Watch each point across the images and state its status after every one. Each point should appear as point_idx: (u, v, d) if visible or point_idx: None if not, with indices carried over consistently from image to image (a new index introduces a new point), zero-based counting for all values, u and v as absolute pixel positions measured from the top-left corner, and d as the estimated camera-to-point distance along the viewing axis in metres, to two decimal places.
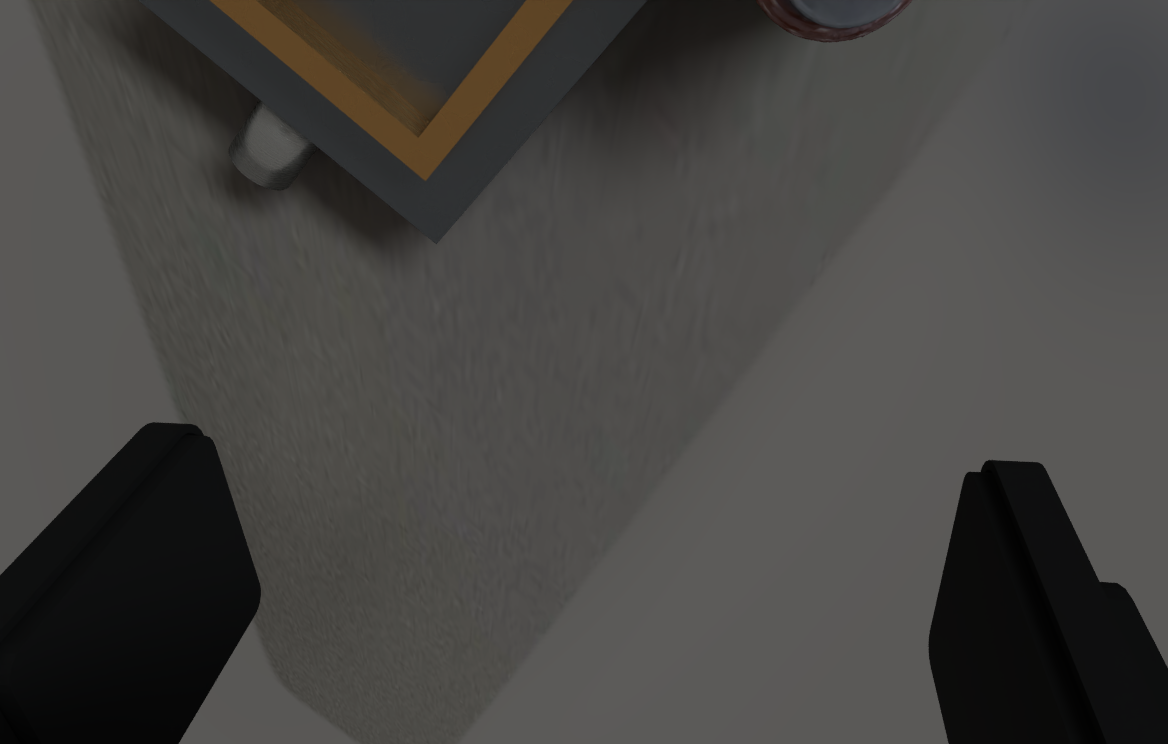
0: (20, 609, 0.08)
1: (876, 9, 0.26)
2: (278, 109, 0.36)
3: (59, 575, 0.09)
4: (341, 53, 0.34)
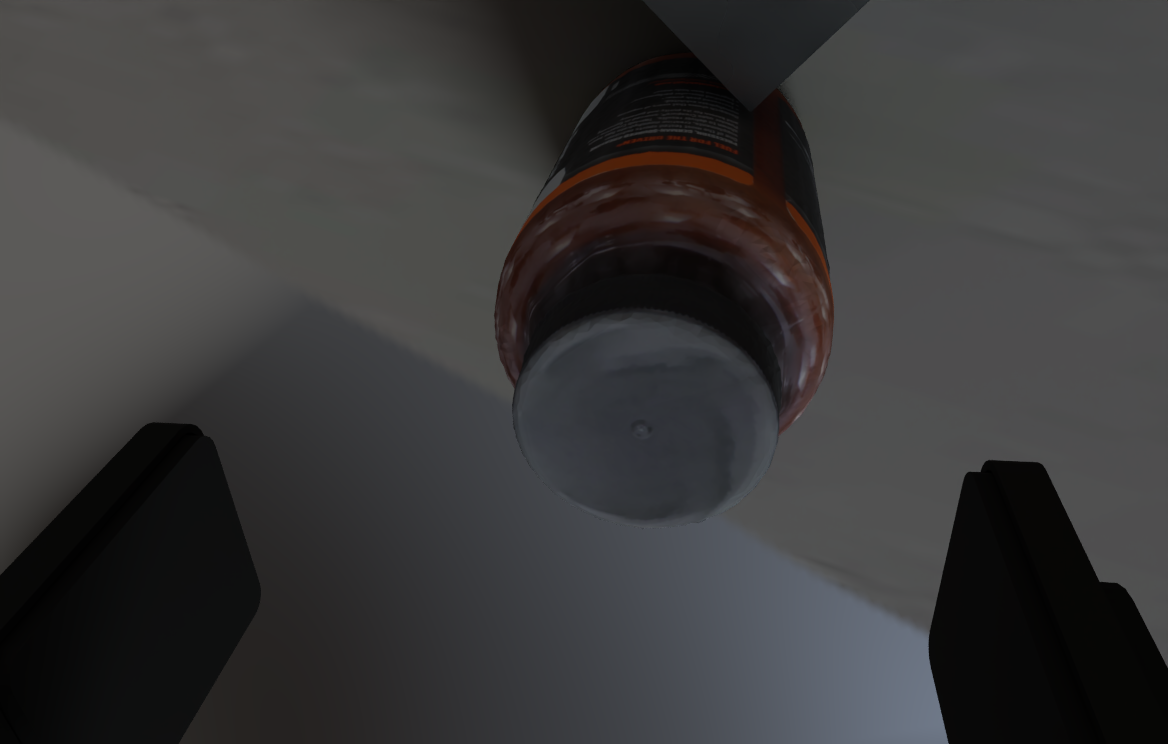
0: (19, 609, 0.08)
1: (548, 468, 0.14)
2: None
3: (59, 575, 0.09)
4: None
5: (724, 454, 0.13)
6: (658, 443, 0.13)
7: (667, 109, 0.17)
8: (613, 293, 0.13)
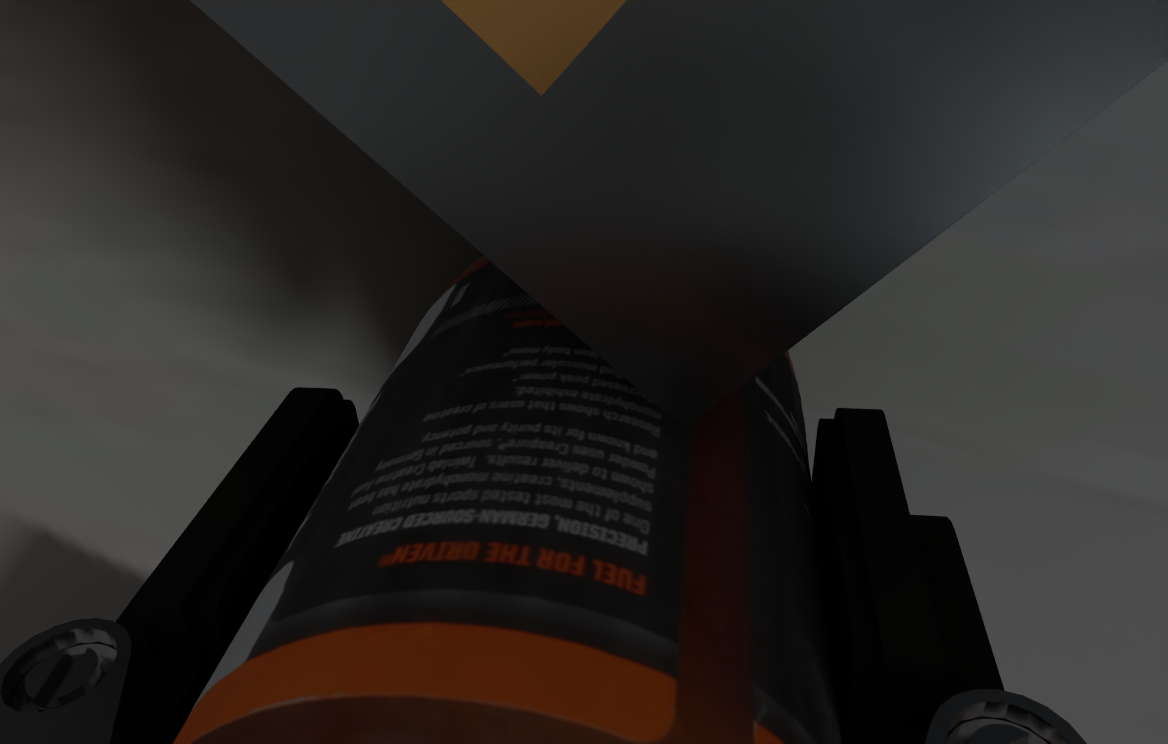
0: (217, 551, 0.09)
1: None
2: None
3: (244, 522, 0.09)
4: None
5: None
6: None
7: (512, 428, 0.08)
8: None
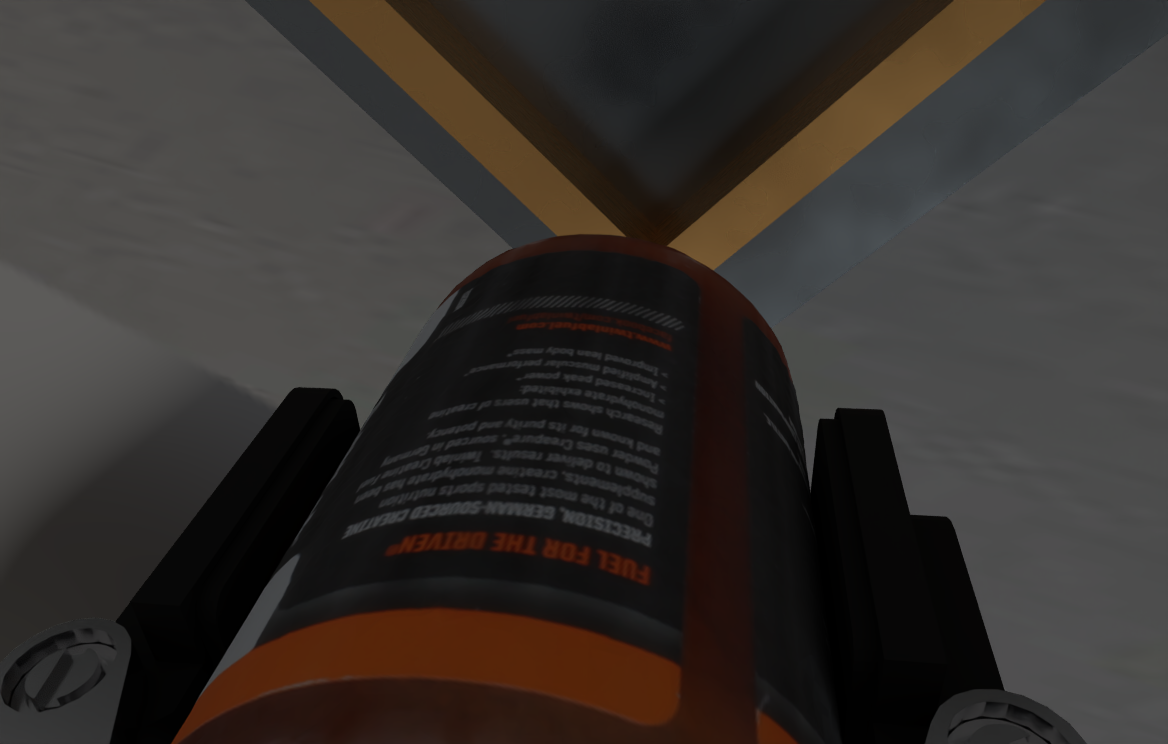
0: (217, 552, 0.09)
1: None
2: None
3: (244, 523, 0.09)
4: None
5: None
6: None
7: (517, 423, 0.08)
8: None
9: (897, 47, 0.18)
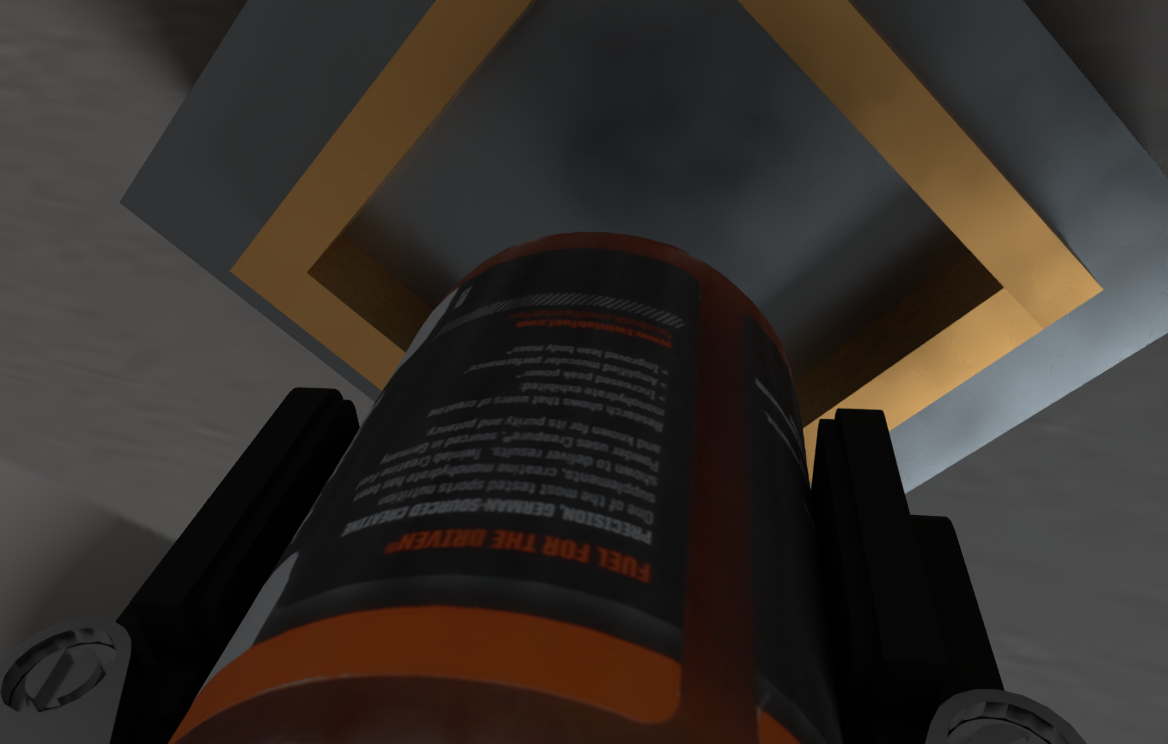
0: (217, 552, 0.09)
1: None
2: None
3: (244, 523, 0.09)
4: (443, 111, 0.18)
5: None
6: None
7: (517, 422, 0.08)
8: None
9: (884, 369, 0.18)
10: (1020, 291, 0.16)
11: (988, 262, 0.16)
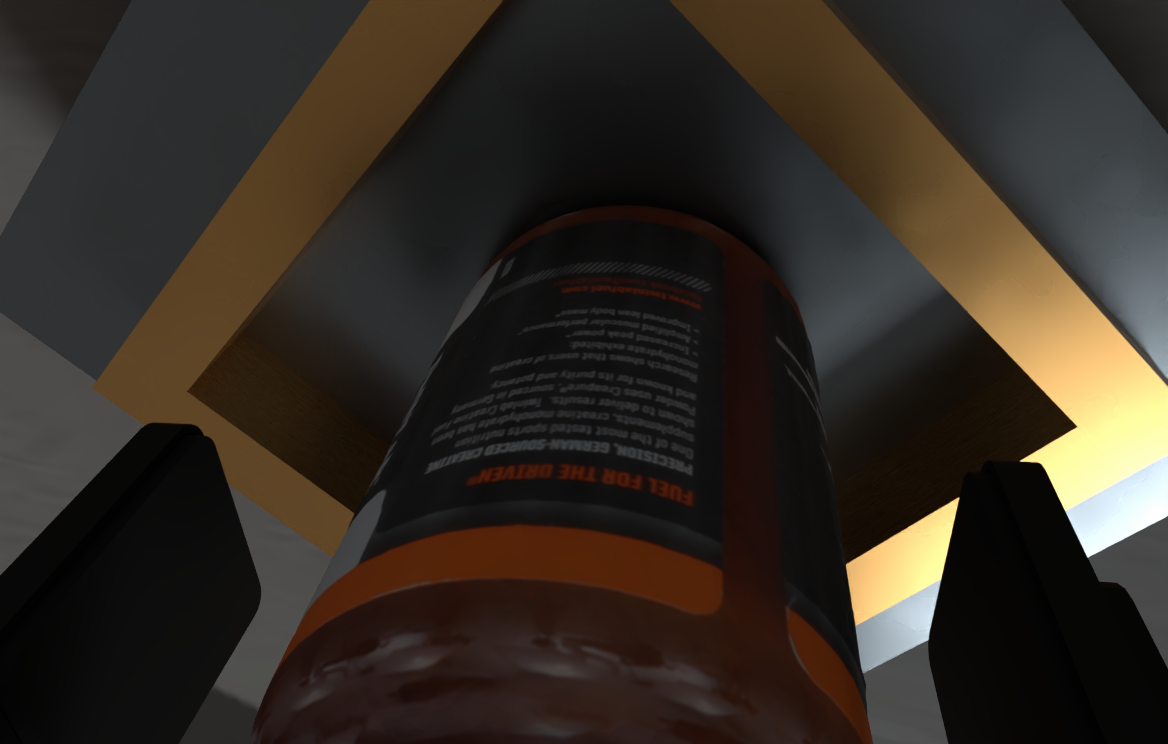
0: (20, 609, 0.08)
1: None
2: None
3: (59, 575, 0.09)
4: (354, 191, 0.14)
5: None
6: None
7: (570, 374, 0.09)
8: None
9: (918, 517, 0.14)
10: (1098, 431, 0.13)
11: (1058, 396, 0.12)
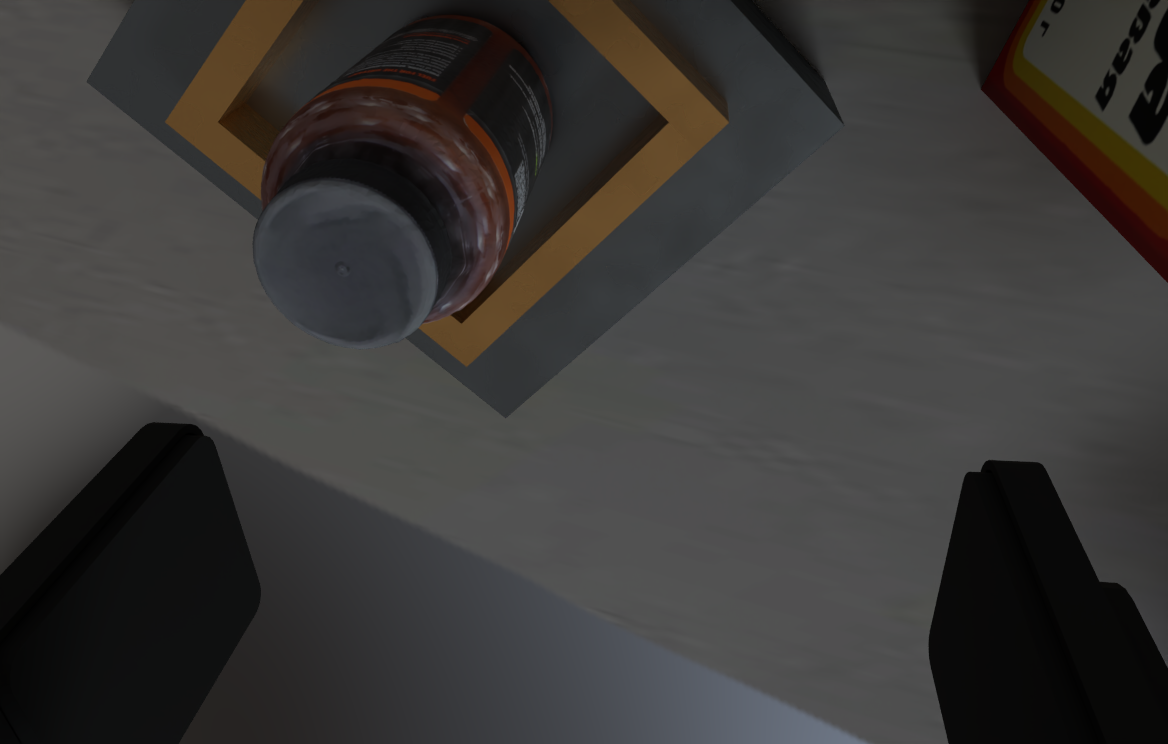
0: (20, 609, 0.08)
1: (284, 304, 0.19)
2: None
3: (59, 575, 0.09)
4: (307, 9, 0.26)
5: (402, 285, 0.19)
6: (355, 279, 0.19)
7: (397, 53, 0.22)
8: (315, 171, 0.18)
9: (605, 183, 0.27)
10: (679, 124, 0.26)
11: (656, 104, 0.25)
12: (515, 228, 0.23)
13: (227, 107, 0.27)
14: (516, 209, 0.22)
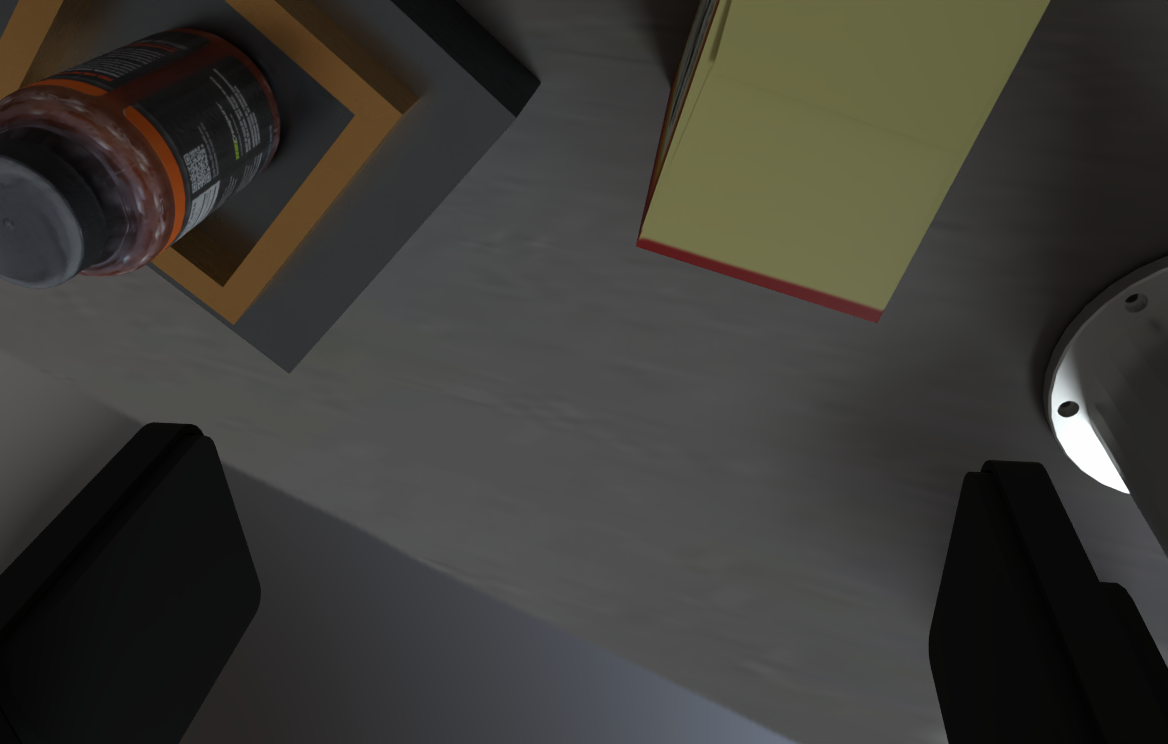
0: (20, 609, 0.08)
1: None
2: None
3: (59, 575, 0.09)
4: (70, 24, 0.32)
5: (54, 236, 0.24)
6: (19, 231, 0.24)
7: (99, 59, 0.28)
8: None
9: (315, 166, 0.32)
10: (363, 116, 0.31)
11: (342, 100, 0.31)
12: (197, 198, 0.28)
13: None
14: (189, 182, 0.28)
